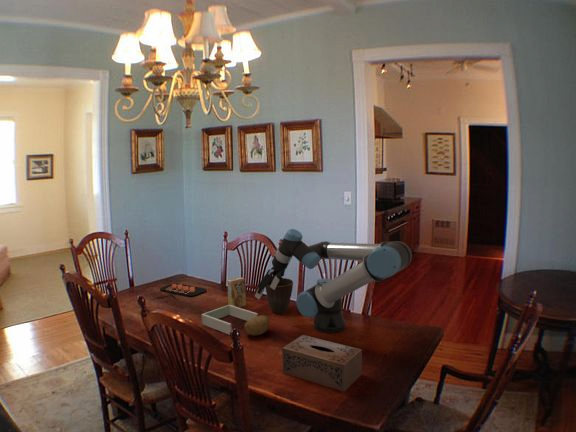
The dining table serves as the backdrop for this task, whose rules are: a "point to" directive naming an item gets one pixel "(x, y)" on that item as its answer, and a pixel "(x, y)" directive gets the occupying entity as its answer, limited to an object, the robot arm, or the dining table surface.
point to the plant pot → (279, 295)
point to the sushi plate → (192, 290)
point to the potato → (257, 325)
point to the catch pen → (213, 316)
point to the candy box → (236, 292)
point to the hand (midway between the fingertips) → (264, 292)
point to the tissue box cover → (322, 362)
